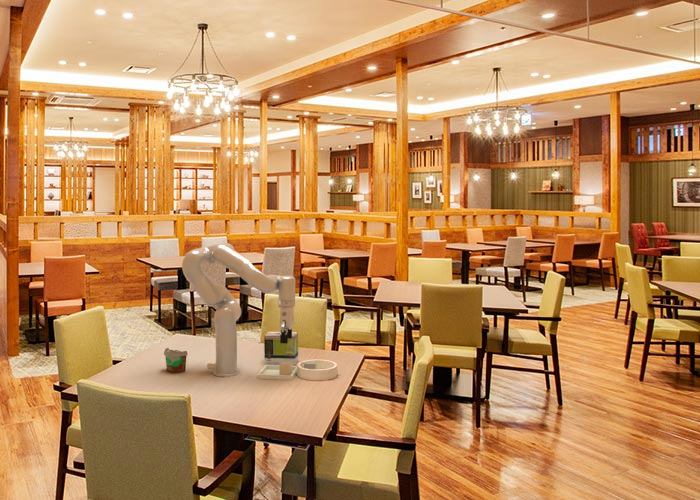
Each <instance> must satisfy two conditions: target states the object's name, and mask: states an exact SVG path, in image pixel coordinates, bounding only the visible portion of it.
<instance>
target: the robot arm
mask: <svg viewBox="0 0 700 500" xmlns="http://www.w3.org/2000/svg"><path fill="white" fill-rule="evenodd" d="M251 261H252V260H250V259H249V258H248V257H246V256H244V255H243V254H241V253H240V252H238V251H237V250H235V247H234V246H233V245H232V244H230V243H229V242H222V243H219V244H213V245H207V246H201V247H198V248H194V249H191V250H190V251H188V252H187V253H186V254H185V255H184V257H183V260H182V262H181V263H182V264H181V269H182V272H183V275H184V277H185V279H186V280H187V281H188V283H189V284H190V285H191V286H192V288H193V290H194V291H195V292H196V294H197V295H198V296H199V297H200V299H201V300H202V301H203V303H204V305H206V306H208V307H215V308H216V310H215V312H214V316H213V321H214V331H215V333H214V334H215V362H214V363H211V362H210V363H207V365H206V368H207V369H211V370H212V375H213V376H215V377H220V378H224V377H225V378H226V377H234V376H238V375H240V374H241V368H238V337H237V336H238V333H237V321H239V318H240V317H241V315H242V308H241V306H240V305H239V303H238V301H237V300H236V299H235V297H234V296H233V295H232V294H231V292H230V291H229V290H228V288H227V287H226V286H224V284H222V283H217V282H216V283H215V282H213V281H214V280H212V279H211V277H210V276H209V275H208V274H207V273H206V272H205V271H204V270H203V268H202V267H205V266H208V265H209V266H210V265H213V264H220V265H221V266H224V268H226V269H229V271H231V272H233V273H234V274H236V275H238V276H239V277H240V278H241V279H242V280H243V281H244V282H246V284H248V285H249V286H251V287H253V288H254V289H256V290H258V291H259V292H261V293H263V294H267V295H268V294H272V293H274V292H275V291H278V300H277V301H278V302H277V303H278V304H277V306H278V308H280V310H279V329H280V332H281V333H280V343H286V344H287V343H288V338H290V339H291V338H292V332H293V327H294V326H295V309H294V308H295V307H296V278H295V277H294V276H293V275H277V274H273V273H272V274H267V275H266V274H265V273H263V272H261V271H260V270H259V269H257V268H256V267H255V266H254V265H253V262H251Z"/></svg>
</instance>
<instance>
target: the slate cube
mask: <svg viewBox="0 0 700 500" xmlns="http://www.w3.org/2000/svg"><path fill="white" fill-rule="evenodd" d="M304 368H306V369H314V370H317V361H306V362H305V363H304Z"/></svg>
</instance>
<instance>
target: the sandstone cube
mask: <svg viewBox="0 0 700 500" xmlns="http://www.w3.org/2000/svg"><path fill="white" fill-rule="evenodd" d="M278 366H279V375H290V376H291V374H292V373H293V362H281V364H280V365H278Z"/></svg>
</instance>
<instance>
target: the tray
mask: <svg viewBox="0 0 700 500" xmlns="http://www.w3.org/2000/svg"><path fill="white" fill-rule="evenodd" d="M296 376H297V365H296V366H293V373H292V374H291V376H290V375H279V365H266V364H264V366H263V367H262V368H261V369H260V371H259V372H258V373H257V374H256V379H257V380H280V381H293V380H294V378H295V377H296Z"/></svg>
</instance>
